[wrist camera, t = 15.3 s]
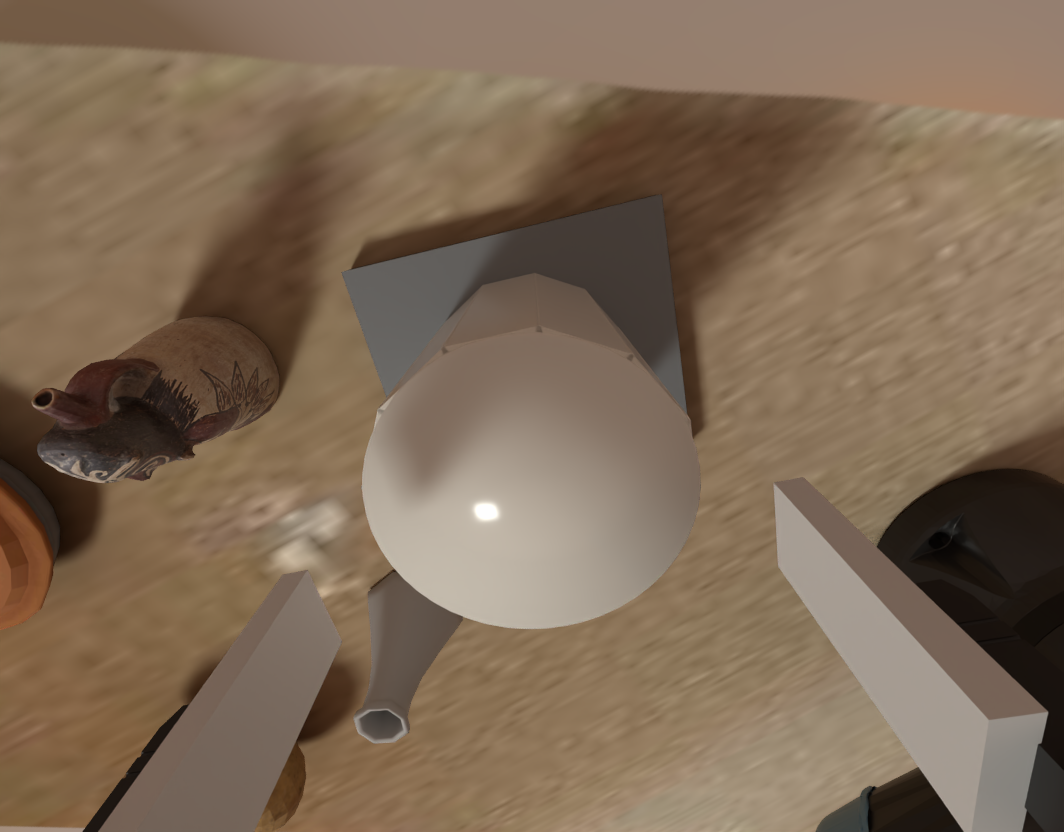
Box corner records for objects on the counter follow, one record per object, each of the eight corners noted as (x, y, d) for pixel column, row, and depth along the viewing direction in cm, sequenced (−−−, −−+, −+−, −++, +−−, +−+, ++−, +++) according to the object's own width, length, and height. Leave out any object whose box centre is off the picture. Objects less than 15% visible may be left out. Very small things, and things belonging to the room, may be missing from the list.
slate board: (655, 195, 28) (661, 194, 26) (685, 446, 33) (691, 456, 32) (350, 269, 29) (341, 272, 28) (431, 498, 35) (427, 509, 34)
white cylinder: (606, 255, 27) (681, 296, 14) (635, 435, 32) (715, 600, 18) (412, 300, 28) (307, 380, 15) (466, 470, 32) (421, 651, 19)
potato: (153, 685, 42) (72, 786, 34) (320, 690, 42) (276, 791, 35) (178, 760, 46) (110, 866, 38) (332, 764, 46) (294, 870, 38)
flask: (435, 553, 37) (404, 667, 28) (478, 621, 39) (462, 746, 30) (352, 584, 38) (295, 704, 29) (398, 648, 40) (360, 777, 31)
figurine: (171, 411, 32) (-15, 515, 21) (159, 303, 30) (-61, 358, 19) (282, 428, 33) (157, 538, 22) (280, 323, 30) (136, 388, 19)
